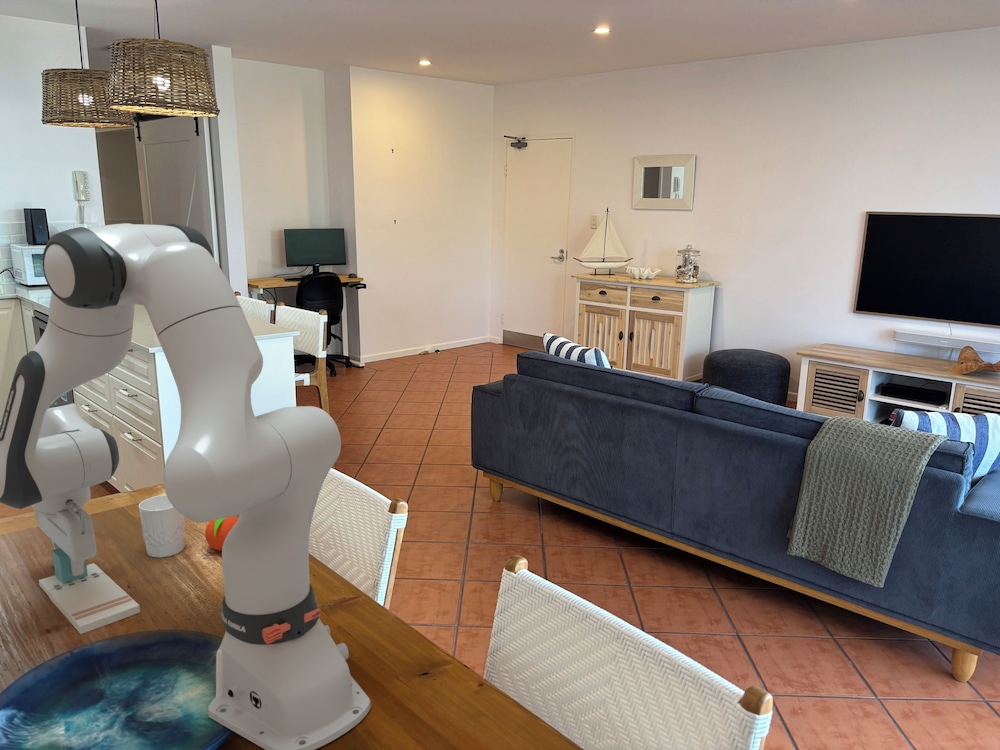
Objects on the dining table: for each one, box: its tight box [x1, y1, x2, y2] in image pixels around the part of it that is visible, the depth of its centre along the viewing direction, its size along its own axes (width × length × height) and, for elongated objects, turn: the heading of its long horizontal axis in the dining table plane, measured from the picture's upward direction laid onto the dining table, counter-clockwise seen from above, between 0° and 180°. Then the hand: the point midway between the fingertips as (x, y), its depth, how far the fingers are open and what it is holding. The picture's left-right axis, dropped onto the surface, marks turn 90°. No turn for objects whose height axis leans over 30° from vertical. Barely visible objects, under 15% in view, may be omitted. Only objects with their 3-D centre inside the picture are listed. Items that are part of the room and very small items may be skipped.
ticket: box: [48, 572, 141, 635], centre depth 124 cm, size 16×9×1 cm, turn 47°
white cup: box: [138, 494, 186, 559], centre depth 143 cm, size 8×8×10 cm
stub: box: [38, 548, 105, 597], centre depth 130 cm, size 5×9×6 cm, turn 137°
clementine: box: [204, 516, 239, 552], centre depth 143 cm, size 8×7×7 cm
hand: (70, 566), depth 130 cm, fingers open, 6 cm apart
